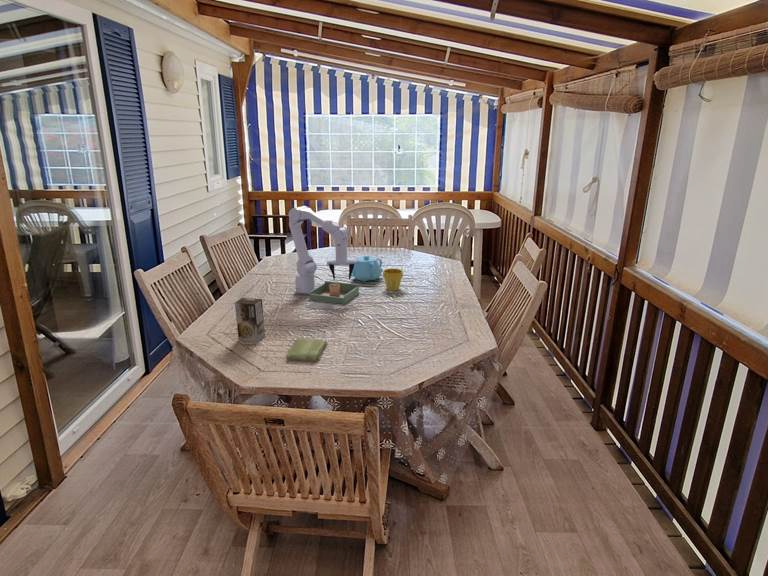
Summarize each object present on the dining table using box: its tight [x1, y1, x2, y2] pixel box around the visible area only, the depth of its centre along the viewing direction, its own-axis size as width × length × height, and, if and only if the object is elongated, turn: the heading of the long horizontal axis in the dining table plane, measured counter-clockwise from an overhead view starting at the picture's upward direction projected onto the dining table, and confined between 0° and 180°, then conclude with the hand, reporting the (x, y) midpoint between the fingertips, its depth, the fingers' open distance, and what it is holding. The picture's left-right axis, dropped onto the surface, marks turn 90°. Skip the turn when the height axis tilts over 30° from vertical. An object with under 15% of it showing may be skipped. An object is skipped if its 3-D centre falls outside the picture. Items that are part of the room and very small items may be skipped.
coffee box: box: [234, 297, 266, 342], centre depth 202 cm, size 9×6×16 cm
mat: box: [304, 300, 337, 312], centre depth 241 cm, size 12×10×1 cm
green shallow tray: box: [309, 280, 360, 305], centre depth 254 cm, size 19×17×5 cm
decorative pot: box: [351, 254, 384, 283], centre depth 283 cm, size 16×16×14 cm
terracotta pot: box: [329, 284, 340, 297], centre depth 253 cm, size 5×5×6 cm
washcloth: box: [285, 337, 328, 363], centre depth 191 cm, size 13×18×3 cm
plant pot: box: [382, 268, 404, 291], centre depth 266 cm, size 10×10×10 cm
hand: (341, 278), depth 251 cm, fingers open, 7 cm apart
